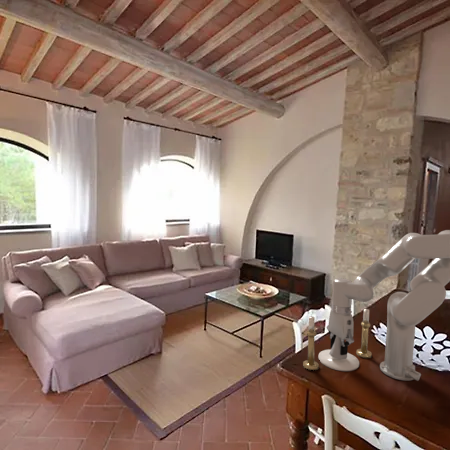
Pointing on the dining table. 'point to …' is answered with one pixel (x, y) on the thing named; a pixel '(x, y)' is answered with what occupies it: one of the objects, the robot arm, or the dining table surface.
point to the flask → (337, 349)
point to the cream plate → (338, 361)
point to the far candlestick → (364, 336)
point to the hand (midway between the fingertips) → (338, 350)
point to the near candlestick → (311, 347)
